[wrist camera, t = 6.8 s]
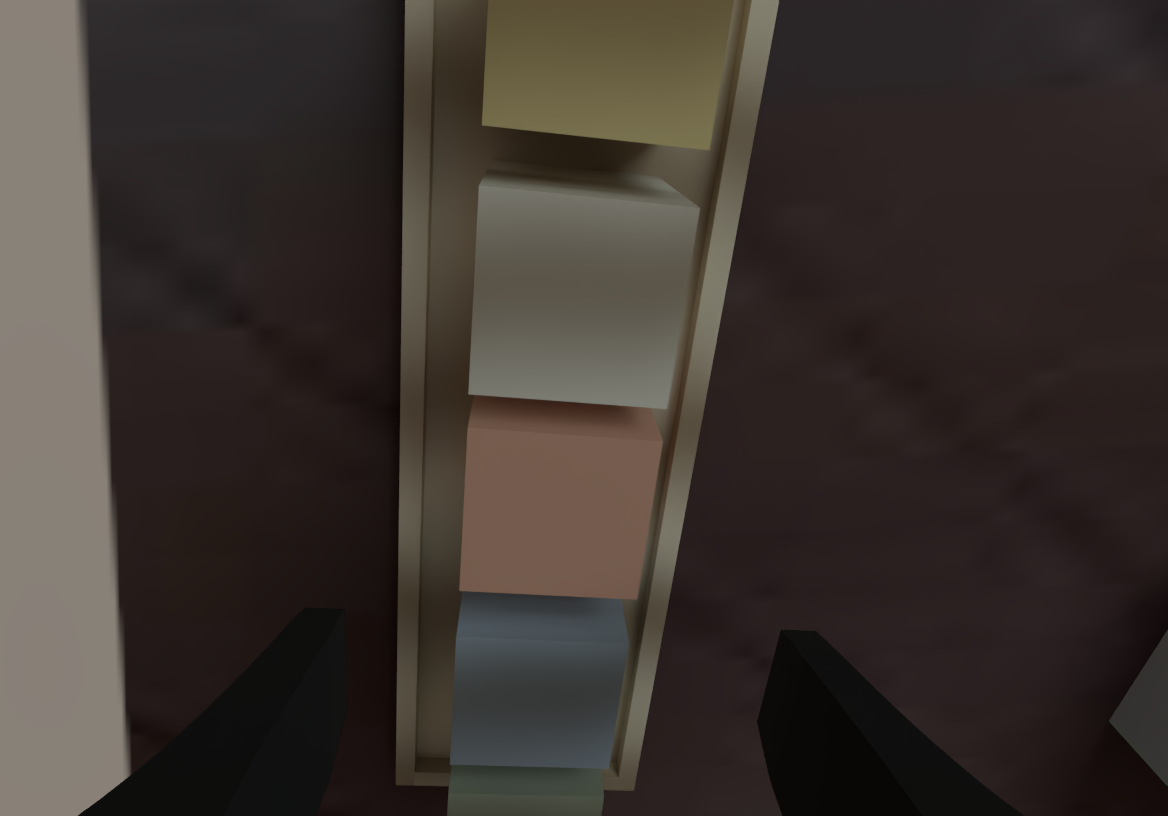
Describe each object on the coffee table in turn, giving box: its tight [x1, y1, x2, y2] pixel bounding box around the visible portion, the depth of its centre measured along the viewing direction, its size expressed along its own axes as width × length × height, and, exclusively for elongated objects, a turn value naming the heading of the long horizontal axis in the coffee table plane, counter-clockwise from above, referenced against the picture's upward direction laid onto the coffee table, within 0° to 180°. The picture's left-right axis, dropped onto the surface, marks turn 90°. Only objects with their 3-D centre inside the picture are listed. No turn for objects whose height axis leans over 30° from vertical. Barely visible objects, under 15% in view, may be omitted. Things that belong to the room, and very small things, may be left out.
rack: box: [396, 0, 779, 816], centre depth 19 cm, size 26×8×6 cm, turn 174°
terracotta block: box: [459, 395, 663, 600], centre depth 18 cm, size 4×4×5 cm
